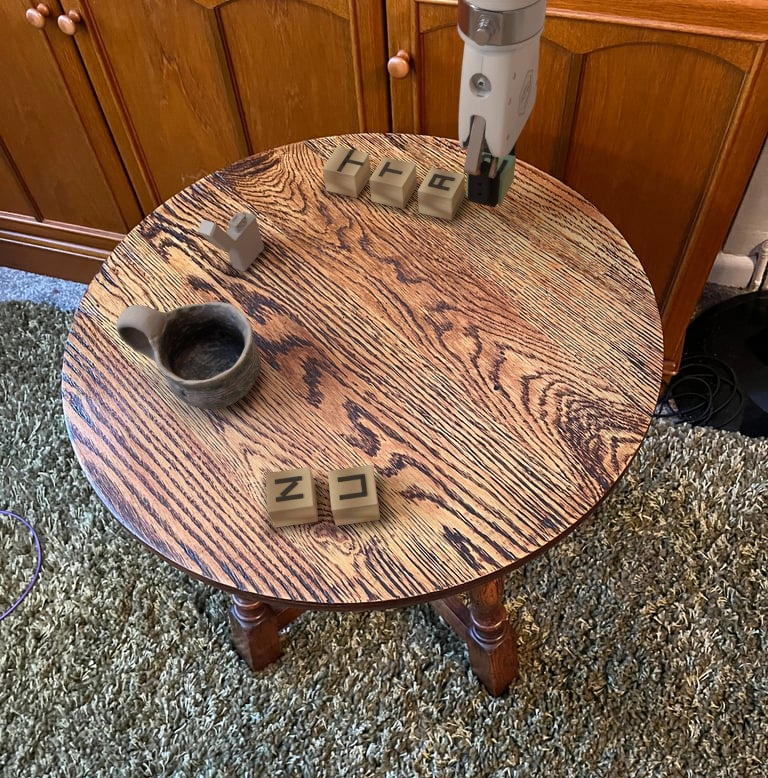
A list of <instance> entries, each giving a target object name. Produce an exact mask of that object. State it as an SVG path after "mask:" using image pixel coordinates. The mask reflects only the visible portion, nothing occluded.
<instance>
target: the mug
mask: <svg viewBox="0 0 768 778" xmlns="http://www.w3.org/2000/svg"><path fill="white" fill-rule="evenodd" d="M116 331H117V335H118V336H119V338H120V339H121V340H122V341H123V342H124V343H125V344H126V345H128V347H130V348H131V349H133V350H134V351H136V352H138V353H140V354H142V355H143V356H145V357H147V358H148V359H150V360H152V361H153V362H155V364H156V366H157V368H158V370H159V372H160V373H161V374H162V375H163V376H164V378H165V380H166V383H167V386H168V387H169V389H170V390H171V392H172V393H173V394H174V395H175V396H176V397H177V399H179V400H181V401H182V402H184V403H186V404H187V405H189V406H191V407H193V408H195V409H200V410H216V409H222V408H226V407H229V406H231V405H233V404H236V403H237V402H238V401H239V400H241V399H242V398H245V396H247V394H248V393H249V392H250V391H251V390H252V388H253V387H254V385H255V383H256V381H257V378H258V377H259V373H260V370H261V366H262V365H261V364H262V362H261V361H262V359H261V355H260V351H259V348H258V346H257V344H256V341H254V330H253V327H252V325H251V323H250V321H249V319H248V317H247V315H245V313H243V311H241V310H240V309H238V307H237V306H234V305H233V304H231V303H228V302H223V301H207V302H204V303H192V304H186V305H182V306H178V307H176V308H173V309H171V310H169V311H161V310H160V311H159V310H157V309H155V308H152V307H149V306H146V305H143V304H142V305H141V304H132V305H130V306H127V307H126V308H124V310H122V311H121V313H120V314H119V317H117V321H116Z"/></svg>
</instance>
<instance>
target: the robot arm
mask: <svg viewBox="0 0 768 778" xmlns="http://www.w3.org/2000/svg"><path fill="white" fill-rule="evenodd" d="M547 4H548V0H457V33H458V35H459V37H460V38H461V40H463V41H464V46H463V56H462V64H461V74H460V75H461V76H460V87H459V88H460V89H459V102H458V103H459V104H458V143H459V147H460V148H461V150H462V151H466V156H465V161H464V165H463V174H468V197H467V200H468V201H469V203H474V204H477V205H482V206H485V207H486V206H487V207H491V208H496V207H497V205H498V204H497V203H498V197H499V184H500V172H498V171H497V168H498V160H499V158H504V157H505V156H507V155H511V156H516V147H517V140H518V138H519V136H520V135H521V133H522V131H523V129H524V128H525V125H526V123H527V121H528V119H529V117H530V116H531V113H532V111H533V109H534V106H535V104H536V100H537V92H538V90H537V89H538V76H539V64H540V63H539V61H540V47H541V36H542V34H543V32H544V29H545V24H546V23H545V22H546V15H547ZM483 152H485V153H489V154H491V158H490V163H489V162H488V161H484V160H482V153H483Z"/></svg>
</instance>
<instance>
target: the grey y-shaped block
mask: <svg viewBox="0 0 768 778" xmlns="http://www.w3.org/2000/svg"><path fill="white" fill-rule="evenodd" d="M227 225H228V228H227V229H226V231H225V230H223V228H221V227H220V226H219V225H218V224H217V223H215V222H212V221H209V220H206V219H202V220H201V222H200V225H199V228H198V230H197V233H198V234H199V235H201V236H202V238H204V239H205V240H206V241H208V242H209V243H210V244H211V245H212V246H213V247H214V248H216V249H218V250H221V251H224V252H226V253H228V256H229V260H230V263H231V266H232V268H233V269H235V270H238V271H241V272H246V271H247V270H248V269H249V268H250V266H251V265H252V264H253V262H254V261H255V260H256V259H257V258H258V257H259V255H260V254H261V252H263V251H264V249H265V246H264V241H263V239H262V235H261V231H260V227H259V224H258V221H257V217H256V215H255V214H253V213H249V212H247V211H242V212H236V213H235V214H234V215H233V216H232V217H231V218H230V220H229V221H227Z"/></svg>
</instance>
